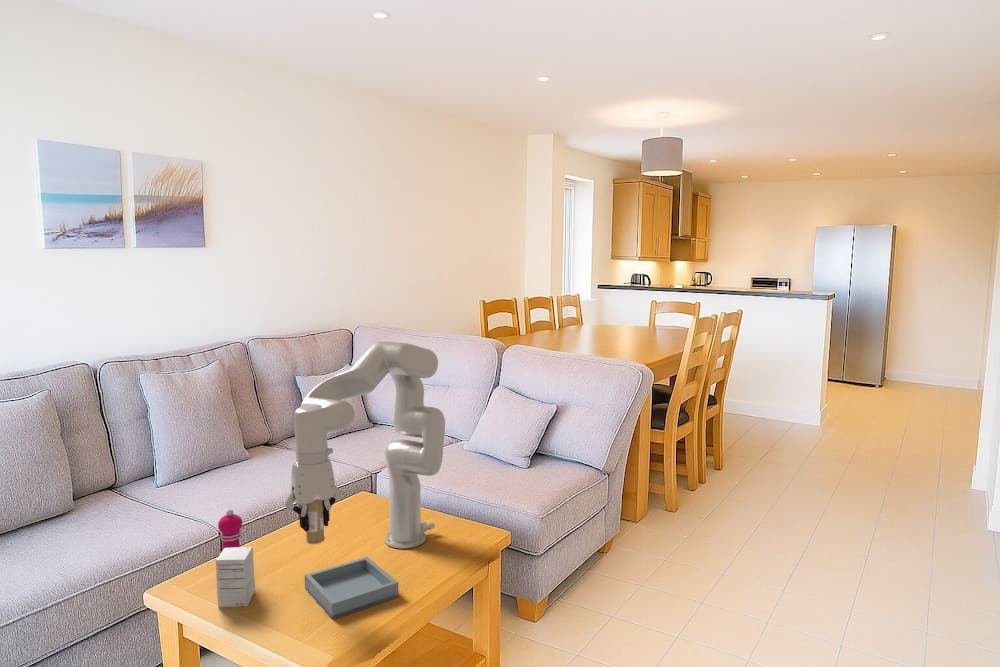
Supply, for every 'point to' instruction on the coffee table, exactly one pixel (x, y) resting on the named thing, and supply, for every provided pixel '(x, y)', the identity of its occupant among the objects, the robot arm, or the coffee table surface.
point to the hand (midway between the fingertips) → (314, 526)
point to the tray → (351, 587)
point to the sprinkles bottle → (315, 522)
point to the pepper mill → (230, 529)
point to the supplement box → (235, 577)
